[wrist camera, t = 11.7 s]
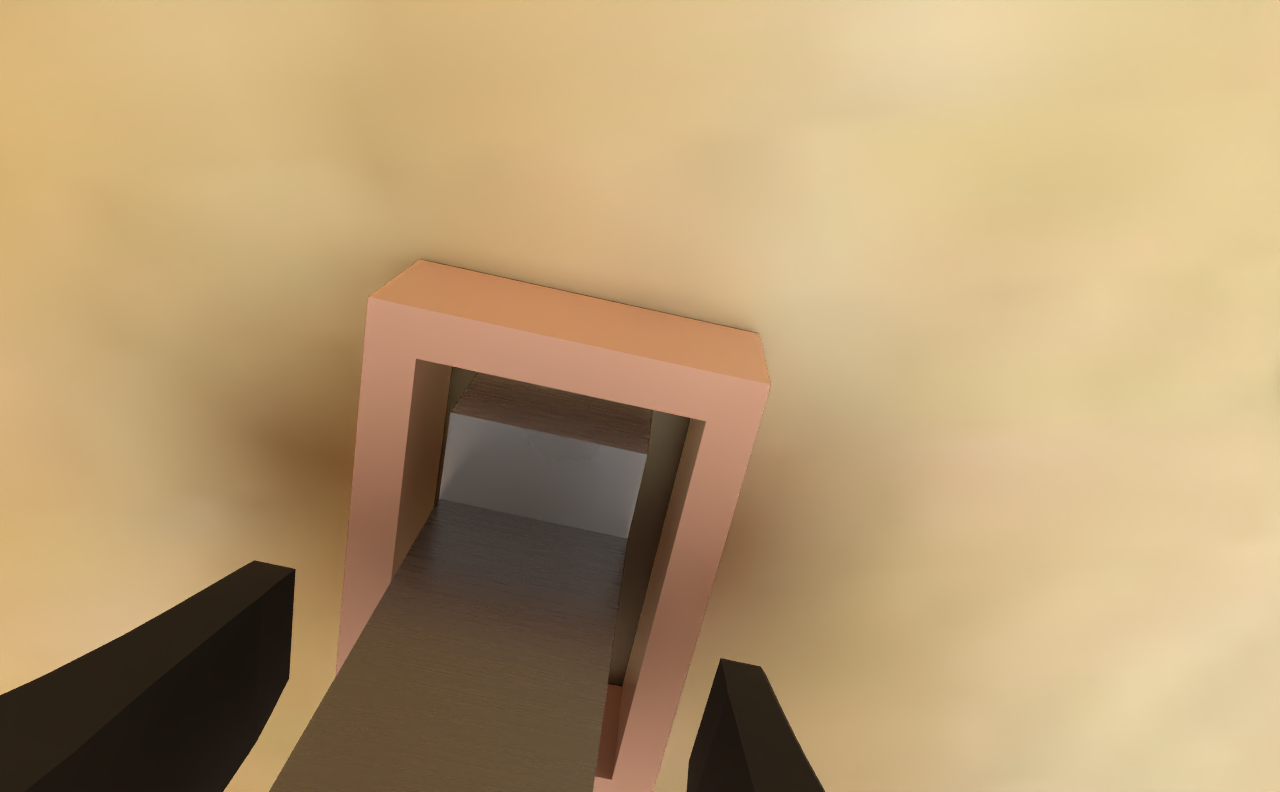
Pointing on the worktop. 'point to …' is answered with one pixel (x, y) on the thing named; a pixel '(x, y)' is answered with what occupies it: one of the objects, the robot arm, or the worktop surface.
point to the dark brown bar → (493, 610)
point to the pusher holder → (575, 362)
